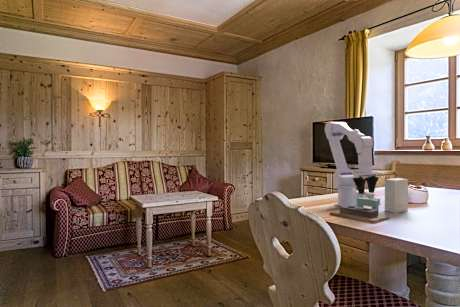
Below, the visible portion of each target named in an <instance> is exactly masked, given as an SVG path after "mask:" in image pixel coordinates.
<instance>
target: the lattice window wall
mask: <svg viewBox="0 0 460 307" xmlns="http://www.w3.org/2000/svg"><path fill="white" fill-rule="evenodd" d="M375 196H376V194H375V193H369V192H367V191H364V194H359V192H358V191H357V198H359V197H361V198H368V199H375V200H379V205H380V204H381V198H376V197H375Z"/></svg>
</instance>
